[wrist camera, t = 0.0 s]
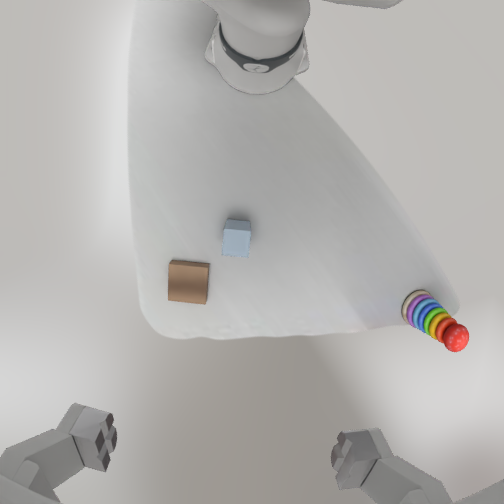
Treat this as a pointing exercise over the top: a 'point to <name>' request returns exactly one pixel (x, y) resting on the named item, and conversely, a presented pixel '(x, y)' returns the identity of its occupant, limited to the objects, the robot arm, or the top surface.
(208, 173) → the top surface
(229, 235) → the pillar
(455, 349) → the stacking toy
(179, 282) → the base block
